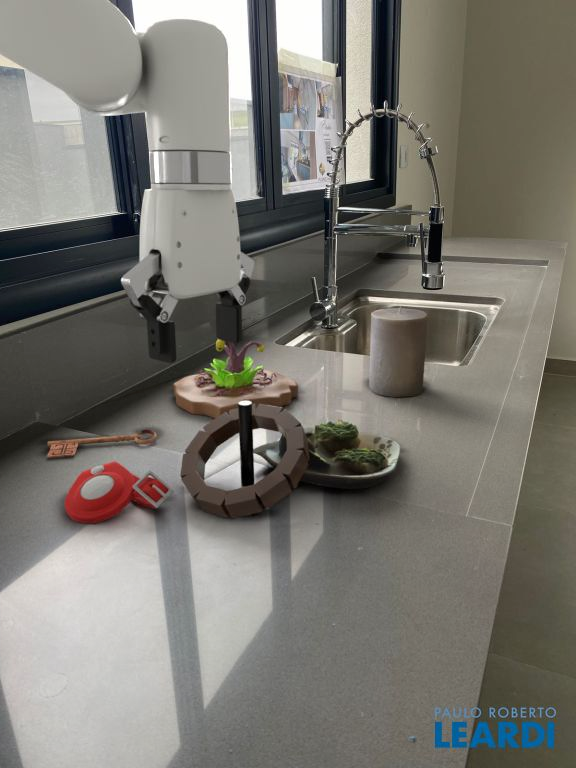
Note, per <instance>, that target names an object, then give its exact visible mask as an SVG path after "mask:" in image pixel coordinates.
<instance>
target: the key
mask: <svg viewBox="0 0 576 768" xmlns="http://www.w3.org/2000/svg"><path fill="white" fill-rule="evenodd" d="M146 434H149V435H153V436H152V437H150V438H148V439H143V435H146ZM156 439H157V433H156V432H155V431H154V430H152V429H142V430H140V431H138V432H137V433H136V434H126V435H115V436H114V435H113V436H103V437H102V436H101V437H90V438H77V439H64V440H52V441H47V448H50V449H49V450H48V453H47V455H46V458H47V459H52V458H64V457H75V456H76V453H77V449H78V447H79V445H90V444H91V445H92V444H103V443H119V442H126V441H127V442H130V441H135V442H136V443H137V444H141V445H147V444H151V443H153V442H154V441H155V440H156Z"/></svg>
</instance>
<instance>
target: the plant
mask: <svg viewBox="0 0 576 768" xmlns="http://www.w3.org/2000/svg"><path fill="white" fill-rule="evenodd" d="M226 342H228V345H229V346H227V345H226ZM253 345H255V347H256V349H257V351H258V352H259V353H263V352H264V351H265V346H264V345H263V344H262V343H261V342H259V341H258V342H257V341H254V340H253V341H249V342H248V343H246V344H244V346H242V348H241V349H240V351H239V353H238V354H237V350H236V346H235V344H234V342H229V341H224V340H219V339H218V338H217V340H216V342H215V350H216V351H217V352H218V353H219V352H223V350H224V351H225V352H226V354H227V358H226V361H223V360H221V359H218V358H213V359H212V362H213V363H210V366H211V367H212V368H213V369H214V370H212V369H211V368H204V370H199V371H198V373H196V374H191V375H187V376H185V377H183V378H181V379H179V380H177V381H175V382H174V383H173V395H174V397H175V402H176V405H177V406H178V407H179V408H180V409H182V410H185V411H187V412H188V413H190V414H191V415H201V416H206V417H210V418H213V419H216V418H218V417H219V416H221V415H222V414H224V413H225V412H226V413H227V414H228V415H229V411H230V410H233V409H237V408H238V403H239V402H240V401H250V402H252V405H253V404H256V406H257V407H258V405H259V404H263V405H269V406H275V407H281V408H282V407H284V406H289V405H291V404H292V399H293V398H297V397H298V396H299V386H298V382H297V381H296V380H295V379H293V378H290V377H288V376H285V375H282V374H280V373H279V372H276V371H273V370H270V369H264V368H263V367H264V365H258V366H256V367H254V368H253V367H252V366H253V364H254V359H252V358H251V357H250V356H247V357H246V353H247V351H248V349H249V348H250V347H251V346H253Z"/></svg>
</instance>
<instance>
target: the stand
mask: <svg viewBox="0 0 576 768" xmlns="http://www.w3.org/2000/svg"><path fill="white" fill-rule="evenodd" d="M238 414H239V433H238V436H239V437H238V439H239V460H236V462H233V463H232V464H229V465H228V466H227V467H225V468H223V469H220V470H219V471H218V472H216V473H214V474H212V475H210V476H208V477H207V478H204V482H205V483H206V485H208V486H212V487H216V488H219V489H223V490H227V491H229V490H233V489H238V488H242V487H247V486H251V485H254V484H256V483H257V482H258V481H260V480H261V479H263V478H264V477H266V476H267V475H268V474H270V473H271V472H273V471H274V469H273V467H272V466H268V465H265V464H262V463H259V462H255V459H254V458H255V457H254V455H255V454H254V453H253V449H254V430H253V421H252V402H250V401H240V402H239V403H238ZM298 486H300V481H299V482H298V484H297V486H296V488H297V487H298ZM290 488H291V490H292V491H293V490H294V489H295V488H292V487H290ZM264 510H266V509H265V507H264V506H263V505H262V511H264ZM259 513H260V512H258V513H254V514H249V516H252V517H255V516H257V515H258V514H259Z"/></svg>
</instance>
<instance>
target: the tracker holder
mask: <svg viewBox="0 0 576 768" xmlns="http://www.w3.org/2000/svg"><path fill="white" fill-rule="evenodd" d="M150 476H151V477H150ZM174 491H175V490H174V489H173V488H172V487H171V486H170V485H169V484H168V483H166V482H165V481H164V480H162V478H160V477H159V476H158V475H156V474H155V473H154V472H153V471H152V470H148V471H147V472H145V474H144V475H143V476H141V477H138V476H136V475H135V474H132V473H131V471H129V470H128V468H126V467H124V465H122V464H120V463H119V462H117V461H111V462H108V463H104V464H101V465H99V464H98V465H96V466H94V467H92V468H89V469H86V470H83V471H81V472H80V473H79V475H78V476H77V478H76V479H75V480H74V481H73V483H72V485H71V487H70V488H69V490H68V491H67V495H66V497H65V499H64V509H65V512H66V514H67V515H68V517H69V518H70V519H71V520H73V521H74V522H77V523H79V524H80V523H81V524H95V523H100V522H103V521H106V520H109V519H111V518H112V517H115V516H116V515H117V514H119V513H121V511H123V510H124V509H125V508H126V507H127V506H128V505H129V504H130V502H131V501H134V502H135V503H137V504H139V505H141V506H143V507H147V508H150V509H158V508H160V507H161V506H162V505H163V504H164V503H165V502H166V501H167V500H168V499H169V497H171V496H172V495H173V494H174Z"/></svg>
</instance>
